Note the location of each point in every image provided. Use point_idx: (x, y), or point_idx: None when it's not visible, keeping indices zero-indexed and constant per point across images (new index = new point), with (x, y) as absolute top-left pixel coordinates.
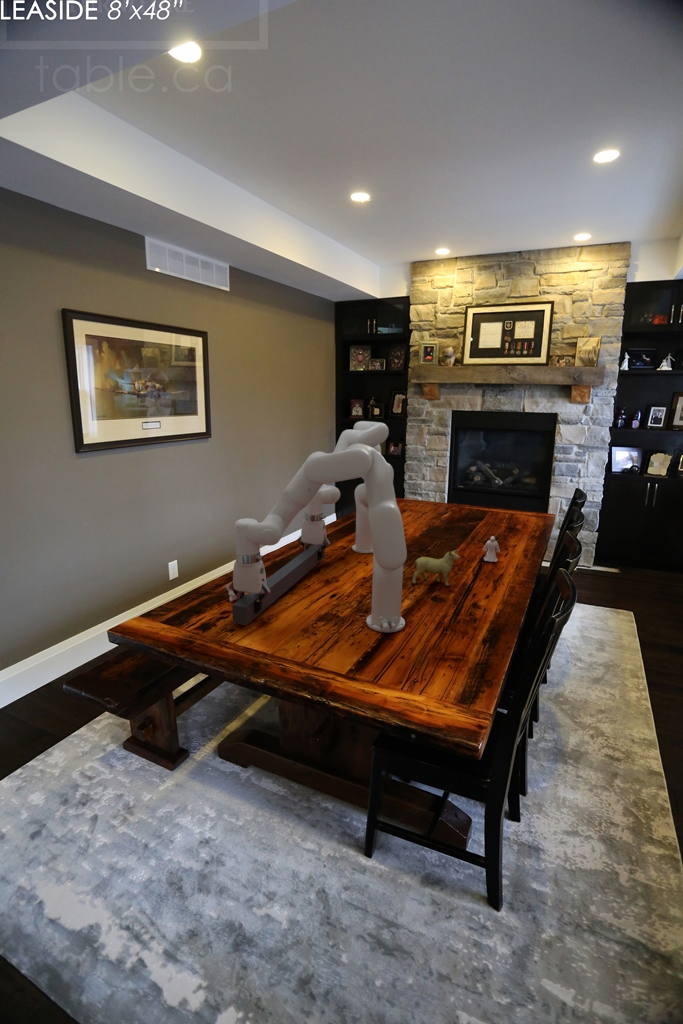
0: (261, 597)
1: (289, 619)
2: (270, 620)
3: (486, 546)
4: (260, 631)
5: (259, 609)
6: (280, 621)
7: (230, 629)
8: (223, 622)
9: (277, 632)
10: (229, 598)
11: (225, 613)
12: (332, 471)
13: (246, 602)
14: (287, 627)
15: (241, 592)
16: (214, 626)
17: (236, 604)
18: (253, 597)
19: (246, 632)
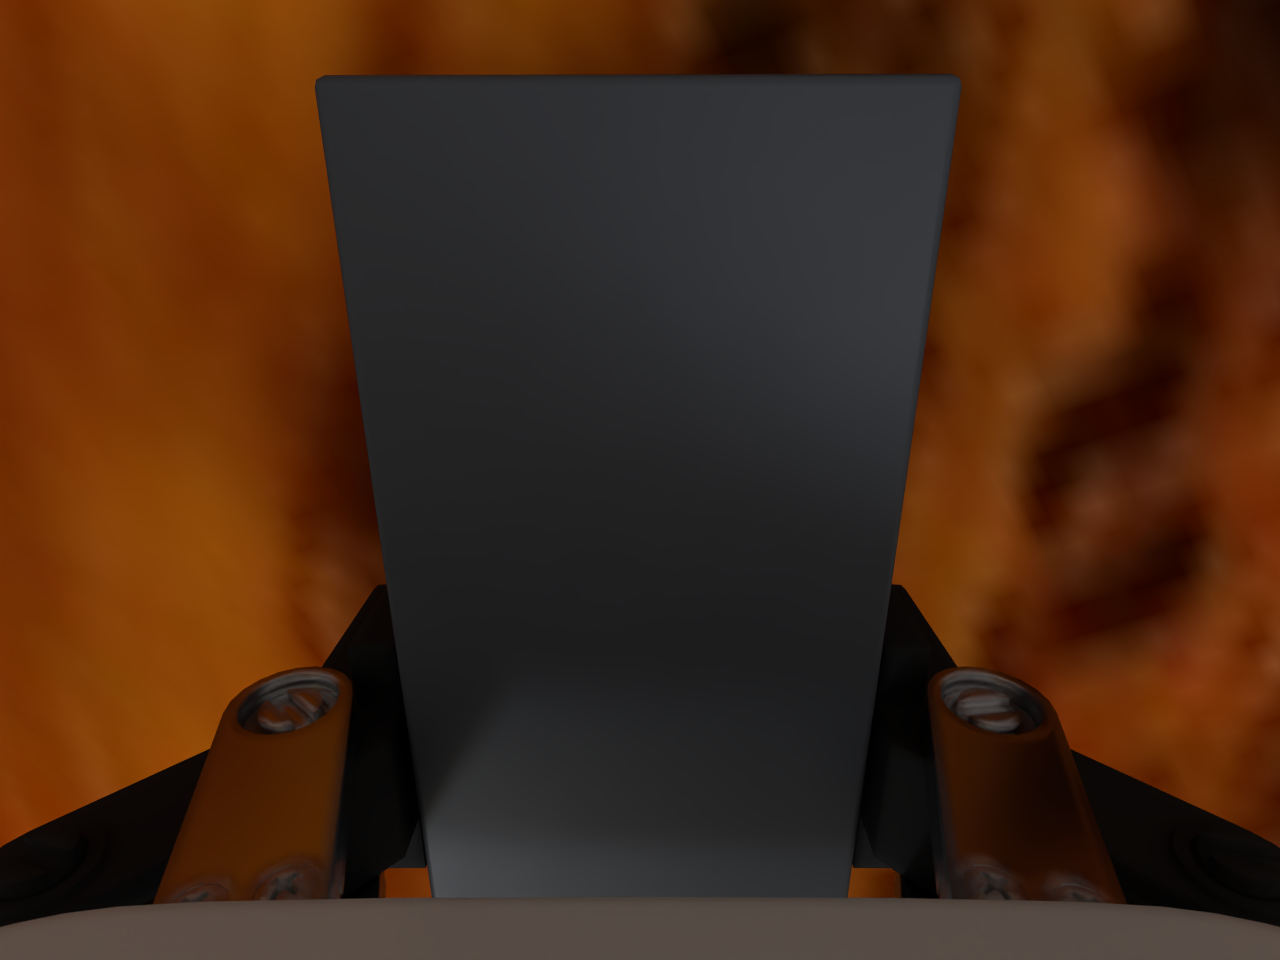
0: (127, 818)
1: (153, 696)
2: (364, 589)
3: None
4: (271, 206)
5: (384, 586)
6: (219, 609)
7: (800, 62)
8: (1039, 268)
9: (10, 283)
10: None
11: (1125, 557)
12: None
13: (542, 476)
14: (5, 486)
15: (939, 871)
16: (1150, 53)
17: (807, 189)
18: (547, 829)
19: (464, 69)
